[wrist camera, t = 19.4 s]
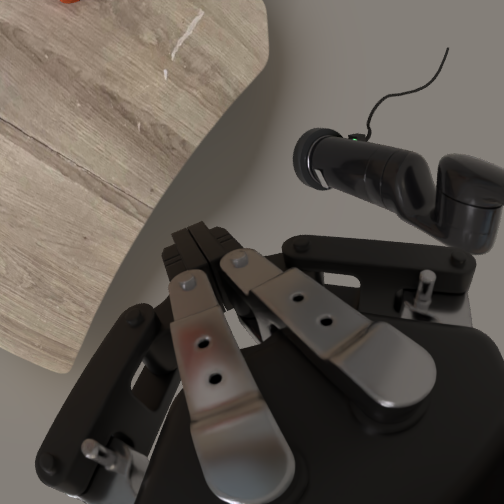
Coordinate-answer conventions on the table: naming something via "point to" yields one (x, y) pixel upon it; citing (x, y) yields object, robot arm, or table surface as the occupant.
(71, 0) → the paper cup
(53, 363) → the table surface
